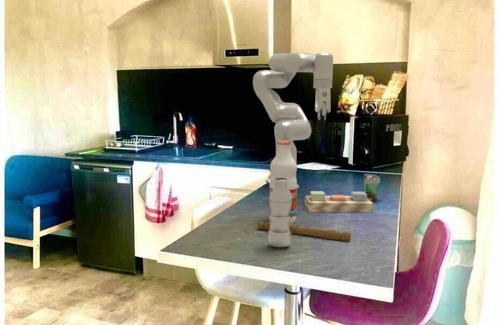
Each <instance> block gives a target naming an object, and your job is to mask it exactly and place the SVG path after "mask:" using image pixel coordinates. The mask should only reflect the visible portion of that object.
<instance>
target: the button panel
mask: <svg viewBox="0 0 500 325" xmlns="http://www.w3.org/2000/svg"><path fill="white" fill-rule="evenodd" d="M344 196H345V197H346V201H332V200H331V199H330V197H331V195H325V201H311V200H310V195H304V206H306V209H307V211H308V212H309V213H370V214H371V213H374V202H371V201H370V200H369V199H368V198H367V201H352V200H351V195H344Z"/></svg>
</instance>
